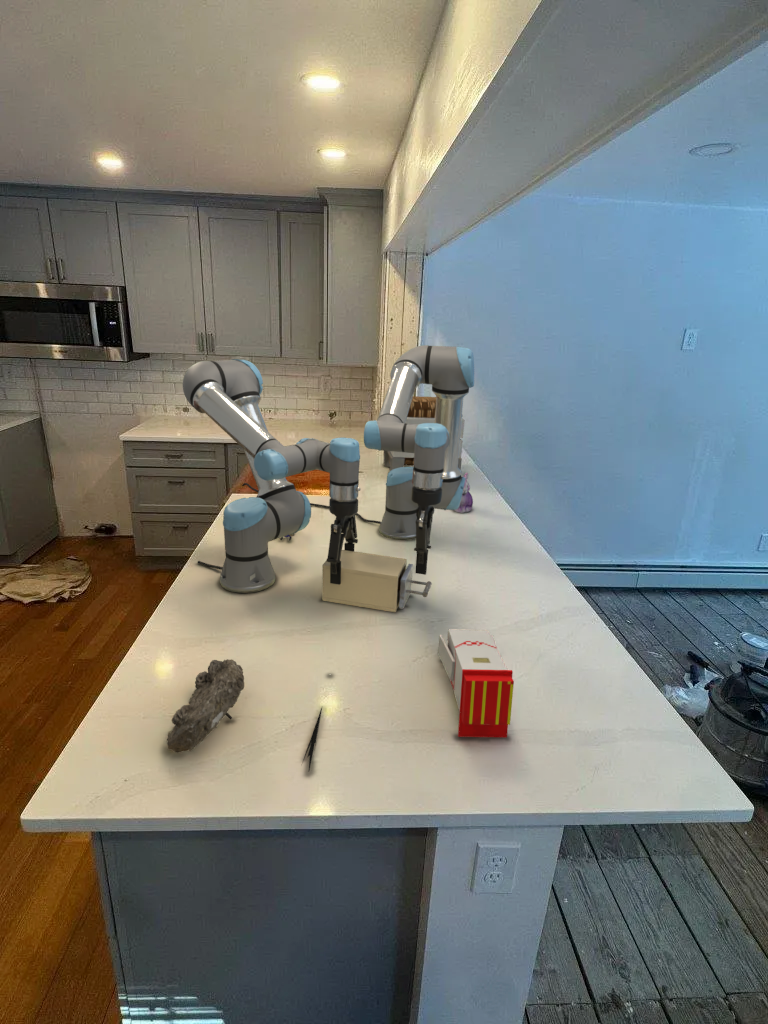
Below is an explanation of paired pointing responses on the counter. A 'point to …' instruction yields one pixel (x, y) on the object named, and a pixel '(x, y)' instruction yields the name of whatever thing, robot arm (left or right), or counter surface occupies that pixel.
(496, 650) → the toy
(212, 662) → the fossil
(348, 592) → the cabinet
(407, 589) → the drawer
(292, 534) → the figurine character
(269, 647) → the counter surface
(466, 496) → the figurine
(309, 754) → the feather
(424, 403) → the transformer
